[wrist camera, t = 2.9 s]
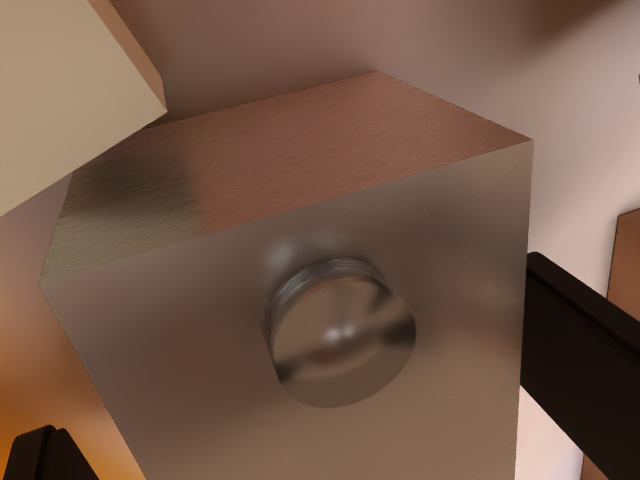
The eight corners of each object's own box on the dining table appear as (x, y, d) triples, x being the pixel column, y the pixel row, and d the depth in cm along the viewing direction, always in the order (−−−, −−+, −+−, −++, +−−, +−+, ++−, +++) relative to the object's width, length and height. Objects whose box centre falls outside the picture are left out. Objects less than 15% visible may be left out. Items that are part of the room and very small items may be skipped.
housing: (84, 140, 10) (24, 323, 5) (373, 69, 11) (572, 157, 6) (220, 465, 15) (261, 715, 10) (408, 394, 16) (529, 589, 11)
